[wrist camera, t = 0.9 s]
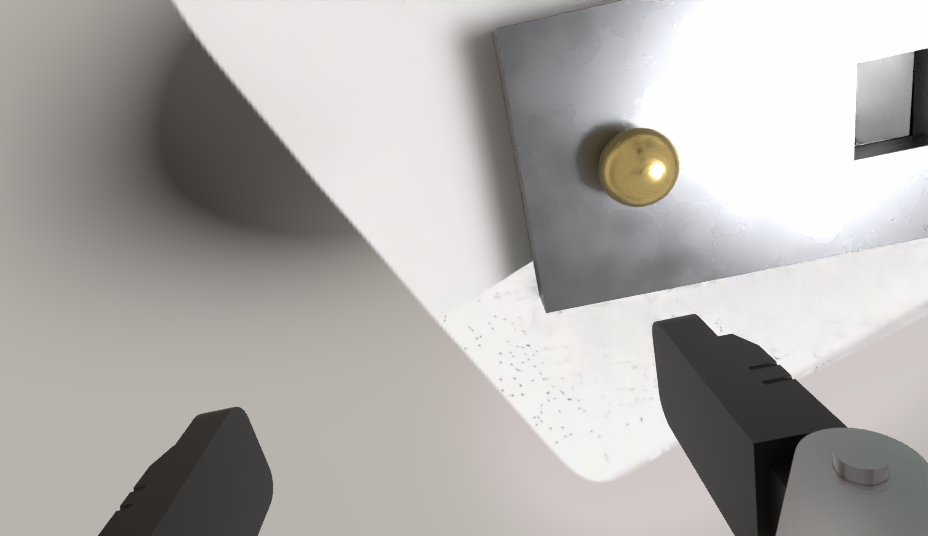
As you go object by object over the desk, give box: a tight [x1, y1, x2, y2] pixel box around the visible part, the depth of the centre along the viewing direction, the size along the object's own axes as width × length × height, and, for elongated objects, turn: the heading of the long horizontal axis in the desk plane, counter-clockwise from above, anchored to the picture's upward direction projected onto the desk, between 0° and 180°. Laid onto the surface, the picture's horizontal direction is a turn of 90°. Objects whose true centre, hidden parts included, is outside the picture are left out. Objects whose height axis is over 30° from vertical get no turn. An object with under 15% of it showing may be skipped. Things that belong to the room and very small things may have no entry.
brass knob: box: [598, 128, 680, 207], centre depth 25 cm, size 4×4×4 cm
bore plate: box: [493, 0, 928, 313], centre depth 27 cm, size 14×24×2 cm, turn 102°
